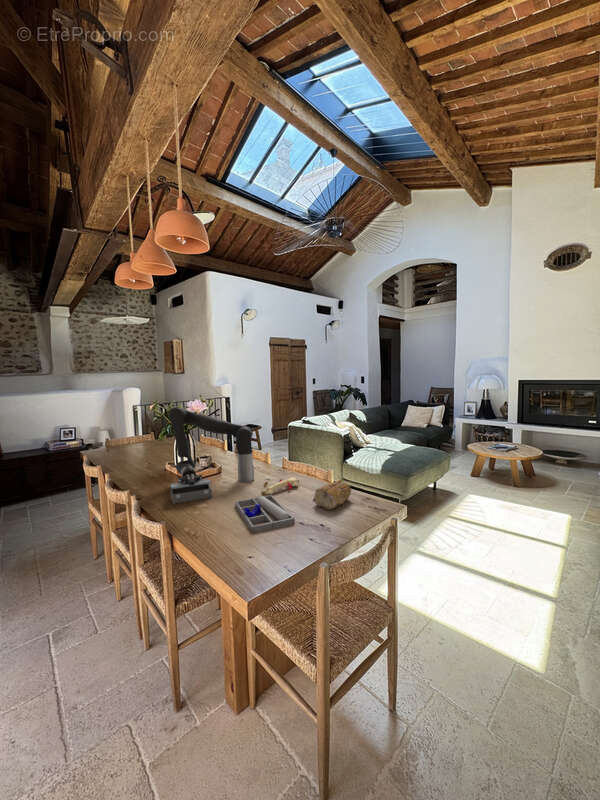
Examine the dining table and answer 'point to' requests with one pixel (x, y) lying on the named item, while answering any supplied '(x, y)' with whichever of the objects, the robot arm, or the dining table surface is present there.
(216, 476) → the dining table surface
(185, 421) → the robot arm
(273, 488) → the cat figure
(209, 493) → the dark grey box
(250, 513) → the cable holder
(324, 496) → the petrified wood
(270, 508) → the tube
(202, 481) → the cover
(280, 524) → the desk organiser
